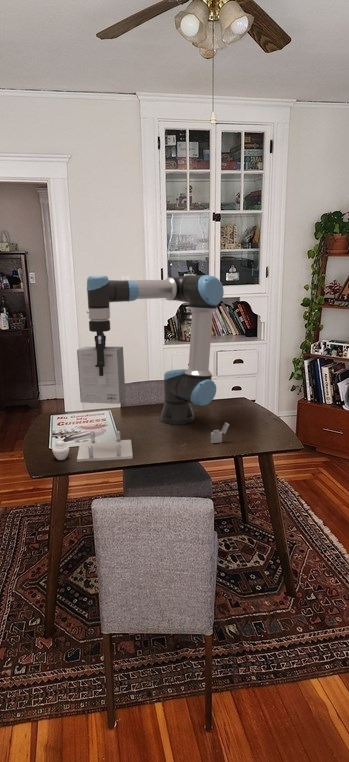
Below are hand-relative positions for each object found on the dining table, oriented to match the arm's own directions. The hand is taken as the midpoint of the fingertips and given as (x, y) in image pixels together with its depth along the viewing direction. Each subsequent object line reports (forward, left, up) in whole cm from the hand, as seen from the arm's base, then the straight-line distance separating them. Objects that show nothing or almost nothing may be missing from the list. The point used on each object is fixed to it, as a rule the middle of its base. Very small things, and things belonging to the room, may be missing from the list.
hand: (102, 381), depth 180 cm
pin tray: (0, 0, -27) cm, 27 cm away
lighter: (-45, -3, -28) cm, 53 cm away
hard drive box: (0, 0, -8) cm, 8 cm away
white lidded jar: (+16, +5, -28) cm, 32 cm away
